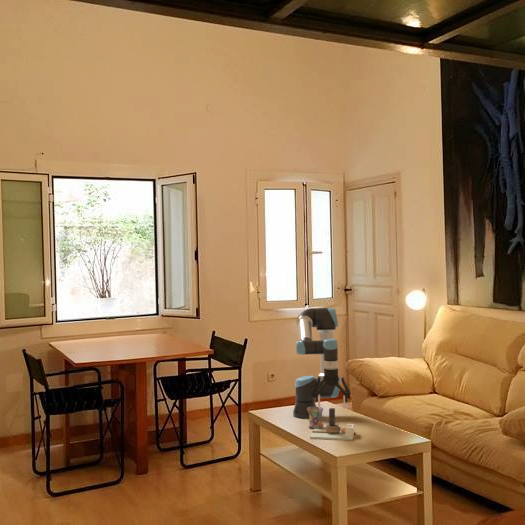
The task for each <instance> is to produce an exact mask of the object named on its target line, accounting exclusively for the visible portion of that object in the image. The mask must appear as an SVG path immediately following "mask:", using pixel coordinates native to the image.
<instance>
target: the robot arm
mask: <svg viewBox="0 0 525 525" xmlns="http://www.w3.org/2000/svg"><path fill="white" fill-rule="evenodd" d="M338 323H339V322H338V316H337V311H336V309H335V308H333V307H319V308H318V307H315V308H311V307H310V308H307V309H304V310H303V311H301V312H300V313H299V315H298V316H297V318H296V327H297V328H298V340H297V341H296V342H295V352H296V354H297V355H302V356H304V355H319V369H320V370H319V371H320V372H319V373H318V374H317V378H316V377H315V376H314V375H305V376H300V377H298V378H296V379H295V382H294V383H295V386H294V387H295V403H294V404H295V405H294V408H293V411H292V414H293V417H295V418H297V419H298V418H299V419H309V413H308V410H307V408H308V407H318V408H320V407H321V399H323V398H324V399H331V398H337V397H339V393H340V391H341V393H342V395H343V397H342V398H343V409H346V403H348V396H350V395H351V390H350V389H349V387H348V384H347V383H346V381H345V377H344V376H342V377H339V369H338V368H339V359H338V358H339V356H338V352H339V351H338V347H339V345H338V340H337V339H335V338H334V333H335V331H336V330H337V328H338V327H339V324H338ZM312 328H315V329H316V331H317V332H318V335H319V336H318V338H319V339H318V340H313V333H312ZM340 382H341V383H342V385H343V387H344V388H343V387H342V386H341V384H340ZM316 402H317V405H316Z"/></svg>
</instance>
